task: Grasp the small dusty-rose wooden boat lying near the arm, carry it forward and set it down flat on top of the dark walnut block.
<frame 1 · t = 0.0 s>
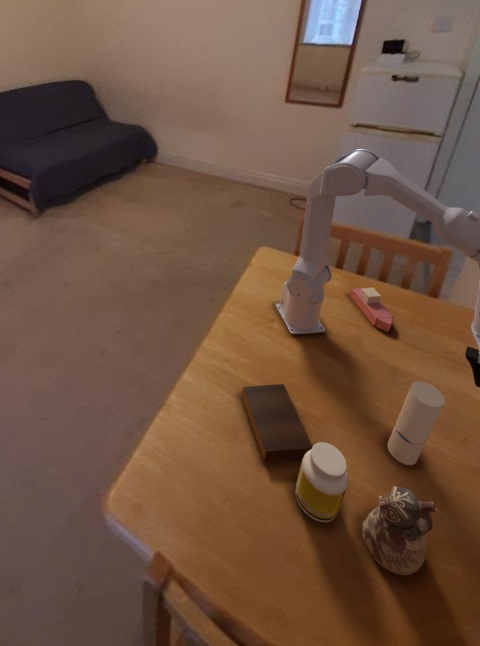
tube: (401, 452, 69), on the table
walnut block: (273, 425, 74), on the table
figurine: (390, 544, 58), on the table
pill bottle: (315, 500, 63), on the table
boat: (369, 309, 98), on the table
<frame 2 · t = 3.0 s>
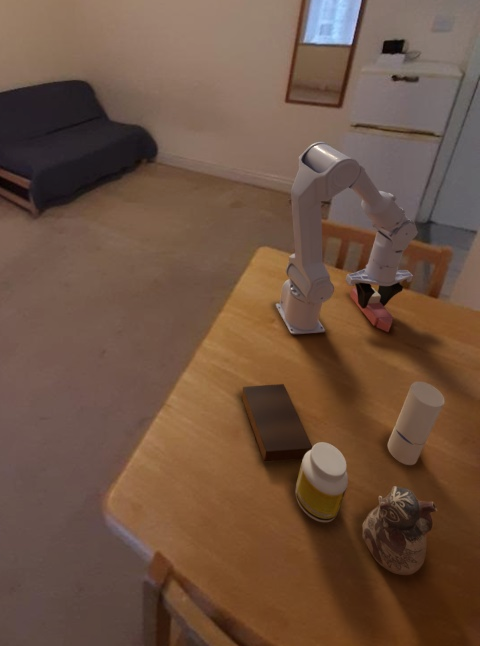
hand: (370, 304, 98), 2 cm above the table, tool pointing down, fingers closed on boat, 4 cm apart
boat: (369, 309, 98), on the table, touching gripper
everything else where it was.
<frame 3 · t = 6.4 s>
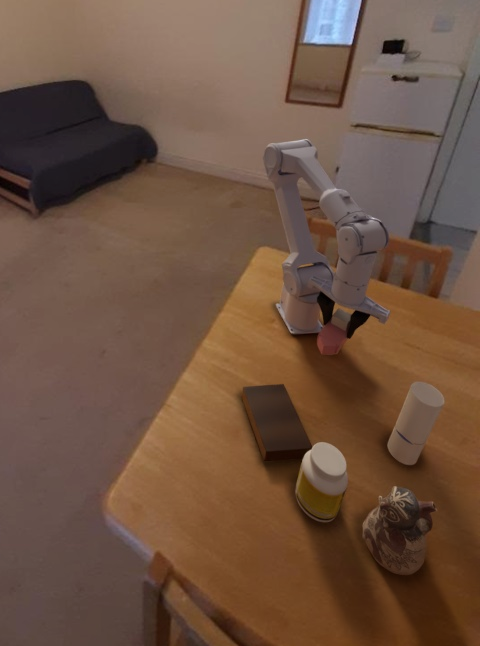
hand: (338, 329, 83), 8 cm above the table, tool pointing down, fingers closed on boat, 4 cm apart
boat: (336, 334, 83), point 7 cm above the table, touching gripper
everything else where it was.
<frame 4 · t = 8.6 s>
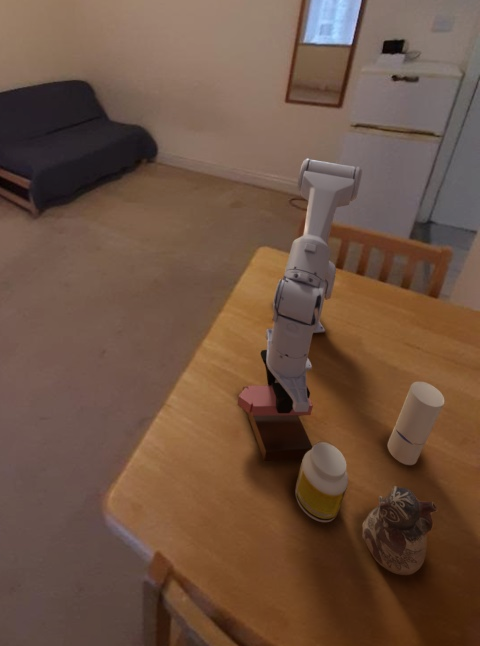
hand: (278, 399, 71), 7 cm above the table, tool pointing down, fingers closed on boat, 4 cm apart
boat: (277, 404, 71), point 6 cm above the table, touching gripper
everything else where it was.
when the fingers open (5 cm above the table, at t = 9.9 s): boat stays where it is, resting on walnut block.
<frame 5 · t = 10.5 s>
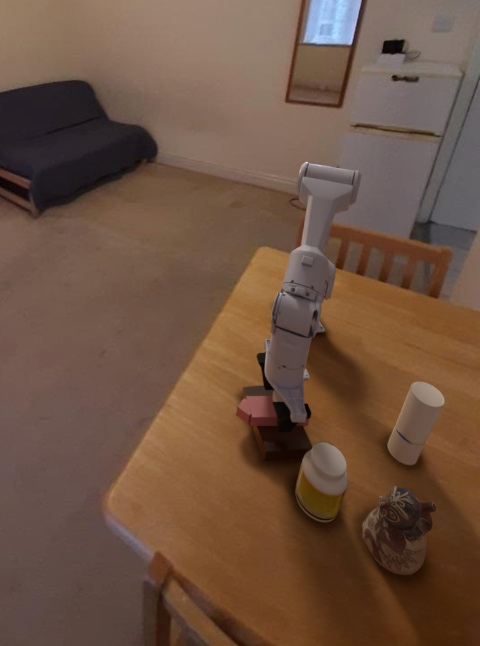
hand: (276, 408, 72), 5 cm above the table, tool pointing down, fingers open, 7 cm apart
walnut block: (273, 425, 74), on the table, touching boat
boat: (275, 415, 73), point 3 cm above the table, touching walnut block
everything else where it was.
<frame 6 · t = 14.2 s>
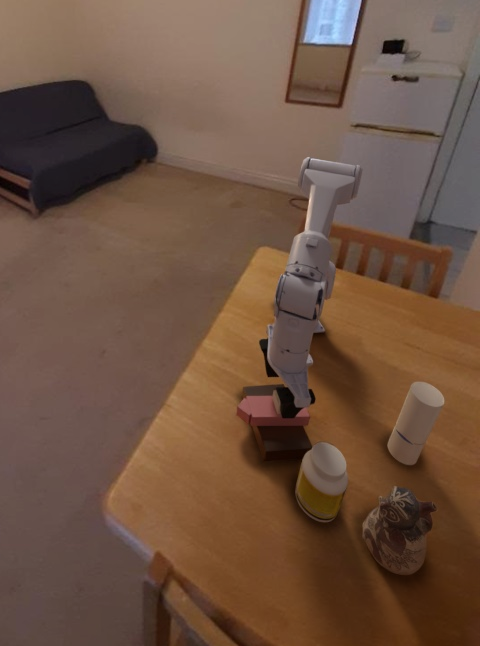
hand: (279, 395, 70), 8 cm above the table, tool pointing down, fingers open, 7 cm apart
nothing on the table moved.
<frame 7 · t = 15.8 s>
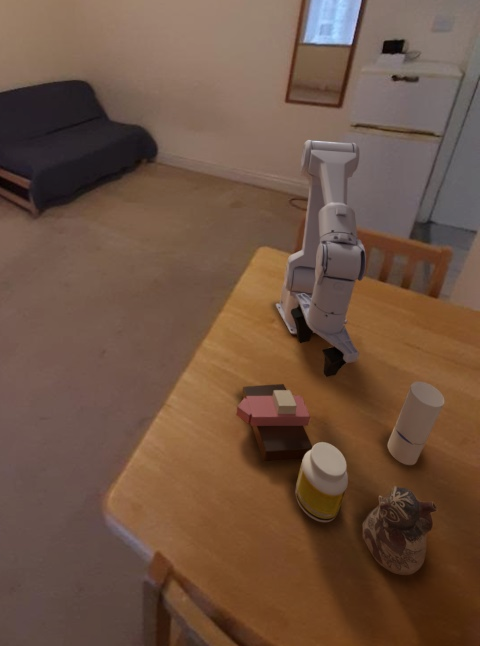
hand: (316, 357, 76), 9 cm above the table, tool pointing down, fingers open, 7 cm apart
nothing on the table moved.
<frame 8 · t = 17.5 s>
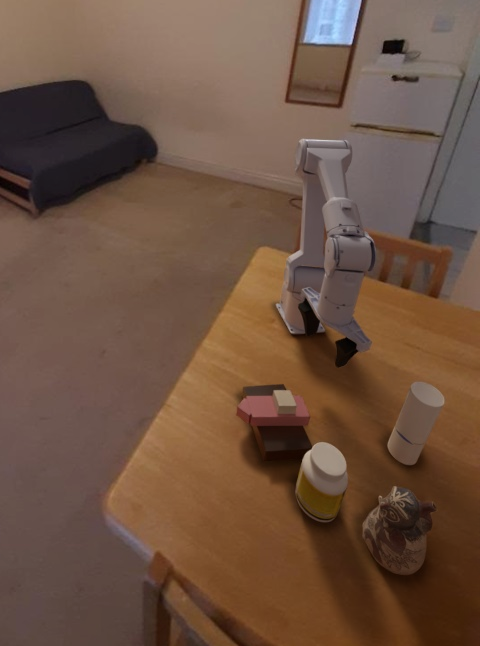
hand: (324, 349, 77), 9 cm above the table, tool pointing down, fingers open, 7 cm apart
nothing on the table moved.
at the end: boat inside the target area on the walnut block (0.0 cm from its centre), point 3.0 cm above the walnut block's base; boat tilted 0°; the gripper is holding nothing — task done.
